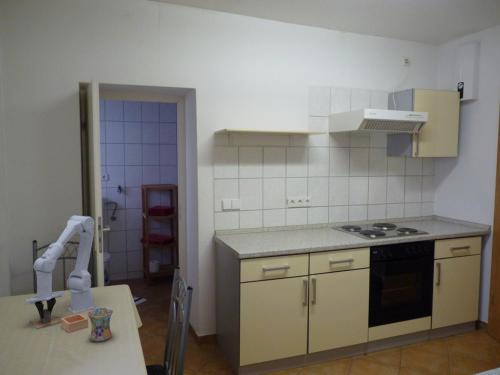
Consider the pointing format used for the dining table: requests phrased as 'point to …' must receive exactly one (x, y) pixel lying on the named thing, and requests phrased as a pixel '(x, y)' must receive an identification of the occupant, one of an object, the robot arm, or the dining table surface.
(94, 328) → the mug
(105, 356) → the dining table surface
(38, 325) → the lid
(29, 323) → the mat
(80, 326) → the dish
